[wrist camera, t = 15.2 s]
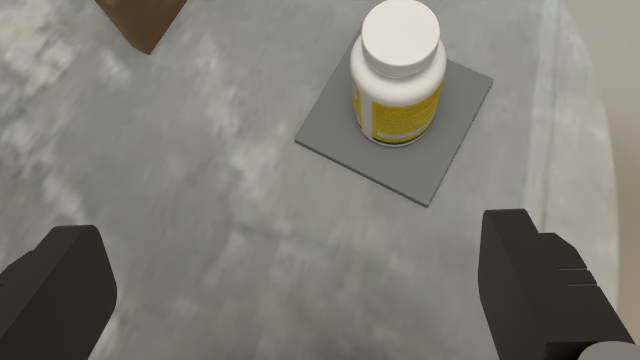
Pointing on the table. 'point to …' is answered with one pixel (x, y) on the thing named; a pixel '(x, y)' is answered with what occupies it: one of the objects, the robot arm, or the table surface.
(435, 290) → the table surface
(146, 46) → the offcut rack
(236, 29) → the table surface
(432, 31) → the supplement bottle
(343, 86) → the charcoal pad
